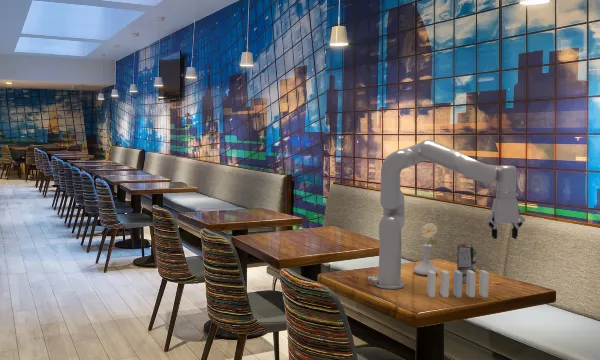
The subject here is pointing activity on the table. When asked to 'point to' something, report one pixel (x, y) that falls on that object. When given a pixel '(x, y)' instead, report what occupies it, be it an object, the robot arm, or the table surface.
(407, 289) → the table surface
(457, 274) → the domino
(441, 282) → the domino
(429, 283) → the domino
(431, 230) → the flower in vase
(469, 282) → the domino
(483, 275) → the domino
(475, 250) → the beverage can
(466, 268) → the coffee box
